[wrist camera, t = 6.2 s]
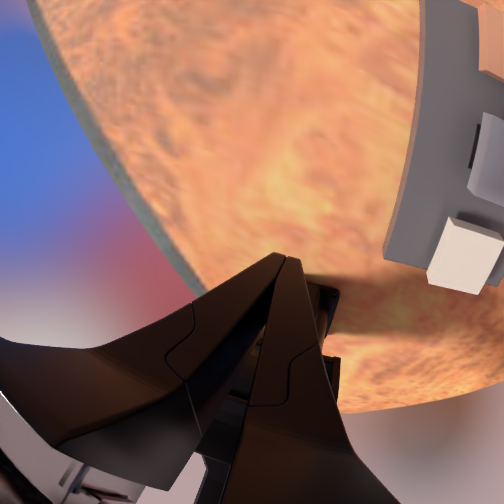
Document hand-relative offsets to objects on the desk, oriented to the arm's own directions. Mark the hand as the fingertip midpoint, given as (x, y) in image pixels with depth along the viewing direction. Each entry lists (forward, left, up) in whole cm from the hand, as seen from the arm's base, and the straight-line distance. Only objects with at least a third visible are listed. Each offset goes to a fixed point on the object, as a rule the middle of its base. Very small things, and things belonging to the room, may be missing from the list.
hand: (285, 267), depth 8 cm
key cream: (-3, -11, -11) cm, 15 cm away
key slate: (+4, -11, -9) cm, 15 cm away
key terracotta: (+11, -11, -11) cm, 19 cm away
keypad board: (+4, -11, -12) cm, 17 cm away
